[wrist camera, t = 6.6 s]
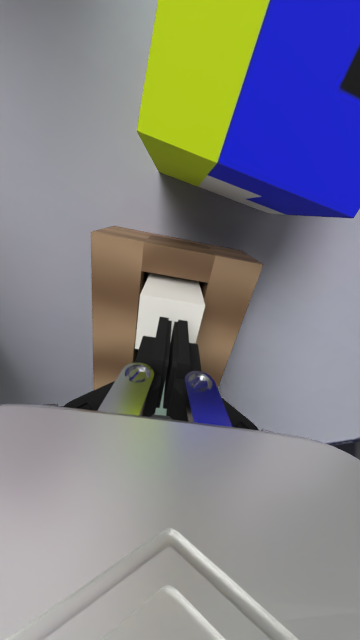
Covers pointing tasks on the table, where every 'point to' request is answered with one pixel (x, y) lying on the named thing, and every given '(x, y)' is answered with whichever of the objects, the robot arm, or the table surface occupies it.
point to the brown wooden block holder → (172, 260)
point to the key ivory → (169, 305)
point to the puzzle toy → (258, 102)
